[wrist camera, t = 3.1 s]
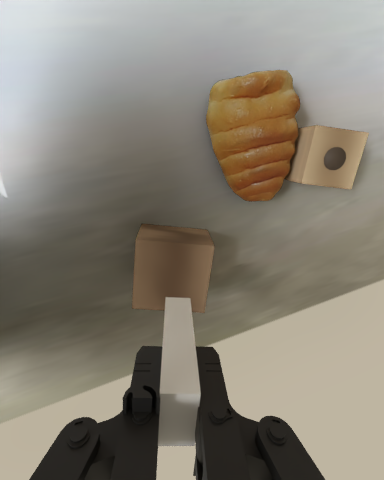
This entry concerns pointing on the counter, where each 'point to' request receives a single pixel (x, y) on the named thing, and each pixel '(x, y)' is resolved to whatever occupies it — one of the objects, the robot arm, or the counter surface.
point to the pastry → (254, 131)
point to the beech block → (326, 156)
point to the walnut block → (171, 266)
